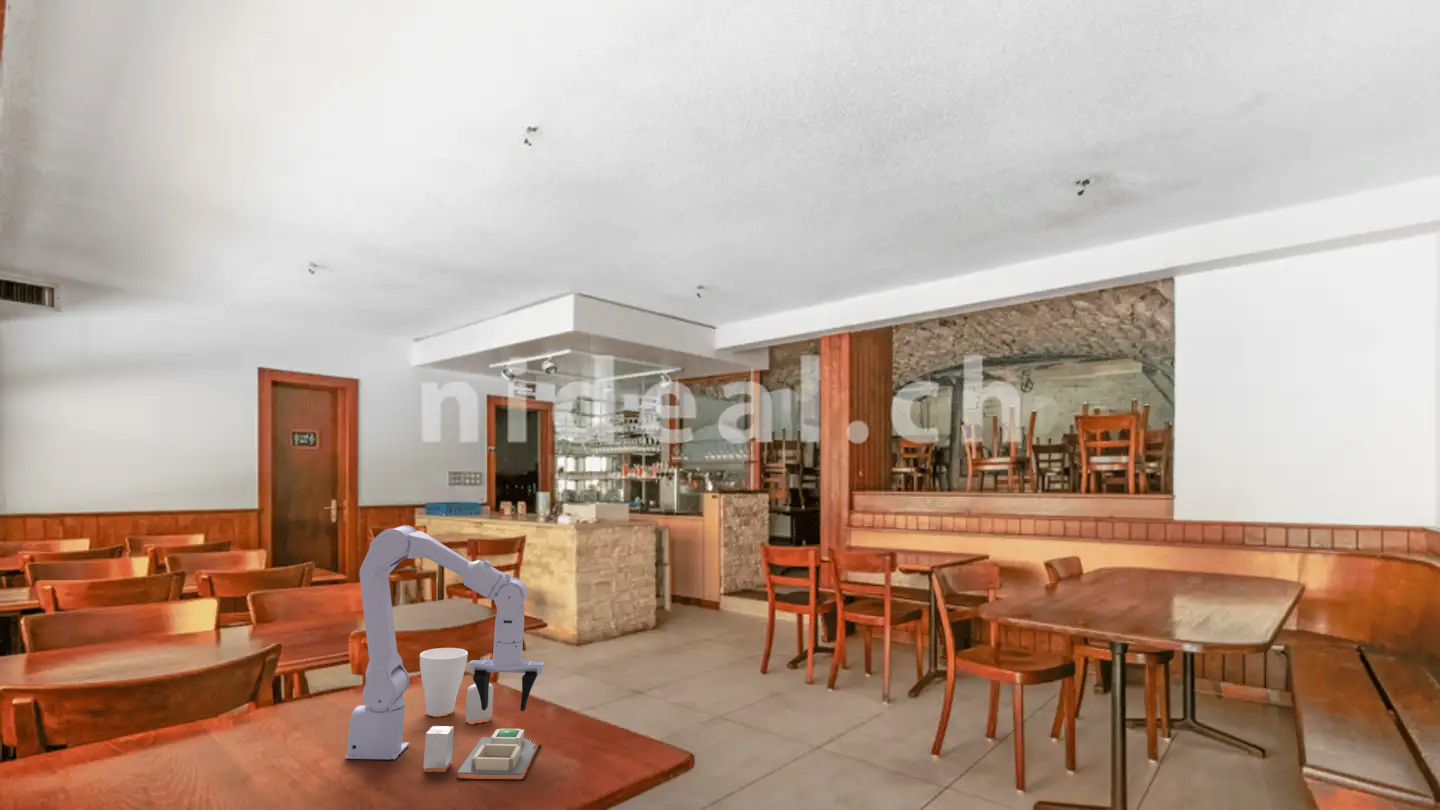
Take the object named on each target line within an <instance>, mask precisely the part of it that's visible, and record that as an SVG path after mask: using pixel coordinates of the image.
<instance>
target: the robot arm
mask: <svg viewBox="0 0 1440 810" xmlns="http://www.w3.org/2000/svg"><path fill="white" fill-rule="evenodd" d="M406 558H407V559H428V560H430V561H431V562H434V563H436V564H437V565H439V566H441V567H443V568H445V569H447V570H449V571H451V572H453V573H455V574H457V575H459V576H461V579H462V583H463V585H464V586H465V587H468V588H469V589H471V590H472V591H474V592H476V593H478V594H479V595H481V596H483V597H485V598H486V599H488V600H489V601H493V602H494V605H495V607H496V608H497V609H496V617H495V618H494V619H495V623H494V636H493V637H494V638H493V649H492V651H493V652H492V659H480V660H479V659H477V660H475V659H474V660H473V659H472V660H471V661H470V662H469V667H468V673H474V674H473V676H472V680H473V682H474V684H476V687H477V689H478V692H479V696H480V700H481V706H482V710H486V708H487V707H488V689H489V683H490V679H491V673H508V674H509V673H510V674H511V673H512V674H513V673H514V674H515V673H518V674H524V675H522V677H521V700H520V701H521V702H520V712H524V711H525V710H526V709H527V703H528V700H529V696H530V693H531V691H532V688H533V685H534V683H535V681H536V679H537V677H538V675H542V674H543V673H544V666H545V662H544V661H535V660H534V661H532V660H526V659H525V660H524V659H523V644H524V631H525V616H524V614H525V610H526V609H525V604H524V603H525V602H526V600H527V598H528V587H527V586H526V583H524V582H523V581H522V580H521V579H520V578H518V577H512V575H511V574H510V573H508V572H507V573H506V574H505V573H504V572H502V571H500V570H498V569H496V568H495V567H493V566H492V562H491V561H490V560H488V559H486V560H485V561H483V560H480V559H478V560H474V561H470V560H468V559H467V558H465V557H464V556H462V555H461V554H459V553H457V552H455V551H454V550H453V549H451V548H449V547H448V546H446V545H444V544H443V543H441V542H440V541H438V540H437V539H435V538H433V537H432V536H431V535H428V534H427V533H426V532H423V531H421V530H417V529H415V528H414V527H412V526H410V525H400V526H397V527H394V528H387V529H384V530H383V531H381V532H380V533H379V534H378V535H376V536H375V537H374V539H373V540H372V541H370V542H369V549H368V551H367V553H366V555H365V558H364V559H363V561H362V564H361V566H360V568H359V575H358V576H359V581H360V588H361V589H360V591H361V599H362V600H361V601H362V607H363V616H364V617H363V618H364V625H365V633H366V634H365V635H366V643H367V651H368V652H367V653H368V659H369V660H368V663H367V667H366V671H365V685H364V687H363V690H362V701H363V703H364V705H363V704H362V705H360V704H359V705H357V706H356V707H354V709H353V712H352V713H351V715H350V719H349V720H350V721H349V725H348V737H347V749H346V750H347V751H346V755H345V756H344V758H345V759H346V760H347V759H349V760H391V759H393V760H395V759H397V758H398V757H399V756H400V755H401V754H402V752H403V751H404V750H406V748H407V747H408V746H409V744H410V742H406V741H405V742H404V741H403V733H404V732H403V731H404V721H405V719H404V718H405V705H406V701H405V699H404V695H403V694H404V693H406V691H407V690H408V688H409V684H410V676H409V673H408V671H407V670H406V669H405V667H404V664H403V658H402V657H401V655H400V654H399V653H398V647H397V638H396V629H395V622H394V613H393V604H392V596H391V587H390V579H389V576H390V573H392V571H394V569H395V568H396V567H397V566H398V565H399V564H400V562H402V561H403V560H404V559H406ZM399 754H400V755H399ZM398 755H399V756H398Z"/></svg>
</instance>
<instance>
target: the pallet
mask: <svg viewBox="0 0 1440 810" xmlns="http://www.w3.org/2000/svg"><path fill="white" fill-rule="evenodd" d="M503 729H504V728H497V729H496V730H495V731H494V733H493V734H492V735H491V736H489V737H488V736H482V737H481V738H480V739H479V741H478V742H477V744H476V746H475V747H474V748H473V749H472V751H471V752H470V754H469V755H468V756H467V757H466V759H465V761H464V762H462V765H461V766H460V768H459V769H458V770H457V772H456V775H457V774H475V775H476V774H477V775H521V774H524V772H525V770H526V768H527V766H528V764H529V761H530V759H531V757H532V755H533V753H534V751H535V749H536V748H535V749H533V747H535V746H534V745H536V744H535V743H534V744H533V743H532V742H531V740H530V738H531V737H525V729H521V728H514V729H515V730H516V737H500V731H501V730H503ZM524 738H525V739H524ZM527 738H529V740H530V741H529V740H528V739H527ZM526 739H527V740H526ZM533 742H534V741H533ZM536 747H537V746H536Z"/></svg>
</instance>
